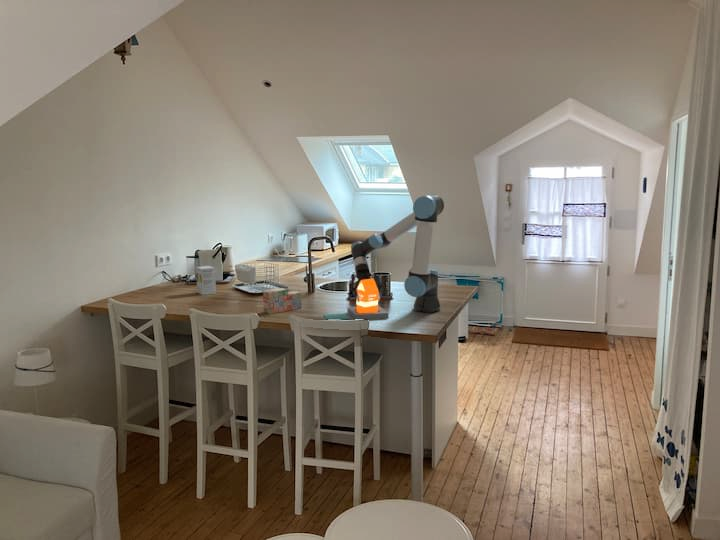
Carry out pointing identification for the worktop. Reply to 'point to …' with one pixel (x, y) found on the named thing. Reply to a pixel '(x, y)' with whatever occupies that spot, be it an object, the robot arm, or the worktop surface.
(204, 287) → the supplement box
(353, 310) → the puzzle board
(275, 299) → the patterned cardboard box
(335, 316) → the mat
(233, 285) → the worktop surface
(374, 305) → the orange juice
